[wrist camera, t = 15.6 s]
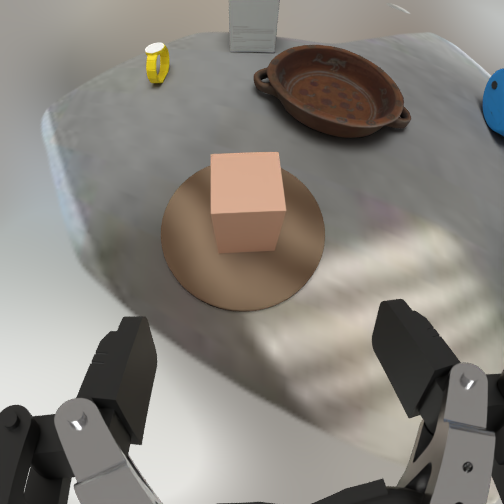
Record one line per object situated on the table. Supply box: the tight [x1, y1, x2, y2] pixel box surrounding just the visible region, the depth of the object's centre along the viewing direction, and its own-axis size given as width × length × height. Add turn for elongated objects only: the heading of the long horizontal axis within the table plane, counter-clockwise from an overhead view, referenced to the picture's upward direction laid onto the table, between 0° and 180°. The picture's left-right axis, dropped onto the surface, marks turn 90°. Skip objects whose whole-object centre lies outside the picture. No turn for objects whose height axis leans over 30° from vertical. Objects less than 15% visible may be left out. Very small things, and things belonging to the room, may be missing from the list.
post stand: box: [161, 166, 325, 312], centre depth 27 cm, size 16×16×7 cm
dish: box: [254, 45, 411, 138], centre depth 35 cm, size 17×22×5 cm
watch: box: [145, 43, 169, 83], centre depth 36 cm, size 6×3×6 cm, turn 174°
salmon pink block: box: [211, 152, 286, 254], centre depth 26 cm, size 5×5×8 cm
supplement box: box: [229, 0, 280, 53], centre depth 37 cm, size 7×7×13 cm
